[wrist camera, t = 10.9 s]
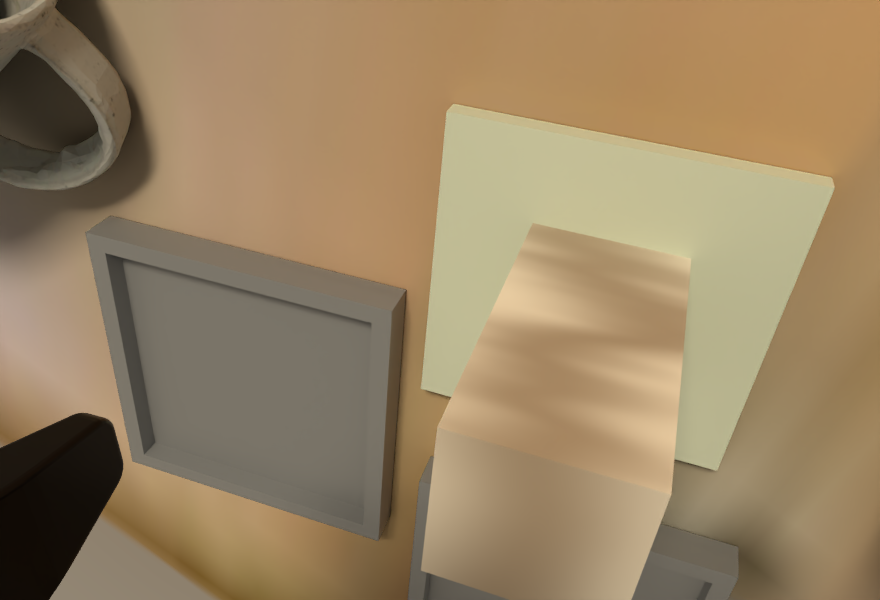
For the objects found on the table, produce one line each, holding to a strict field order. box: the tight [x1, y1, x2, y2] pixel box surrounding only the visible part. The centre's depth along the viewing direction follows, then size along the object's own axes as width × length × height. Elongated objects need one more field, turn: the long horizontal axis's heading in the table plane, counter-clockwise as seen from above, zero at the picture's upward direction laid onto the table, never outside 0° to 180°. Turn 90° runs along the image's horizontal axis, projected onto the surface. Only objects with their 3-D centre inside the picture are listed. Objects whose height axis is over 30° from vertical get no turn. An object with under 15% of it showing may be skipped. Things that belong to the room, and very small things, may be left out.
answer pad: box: [421, 104, 835, 471], centre depth 21 cm, size 9×9×1 cm
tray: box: [85, 216, 406, 541], centre depth 26 cm, size 10×10×1 cm
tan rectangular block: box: [421, 223, 691, 600], centre depth 17 cm, size 4×4×8 cm
